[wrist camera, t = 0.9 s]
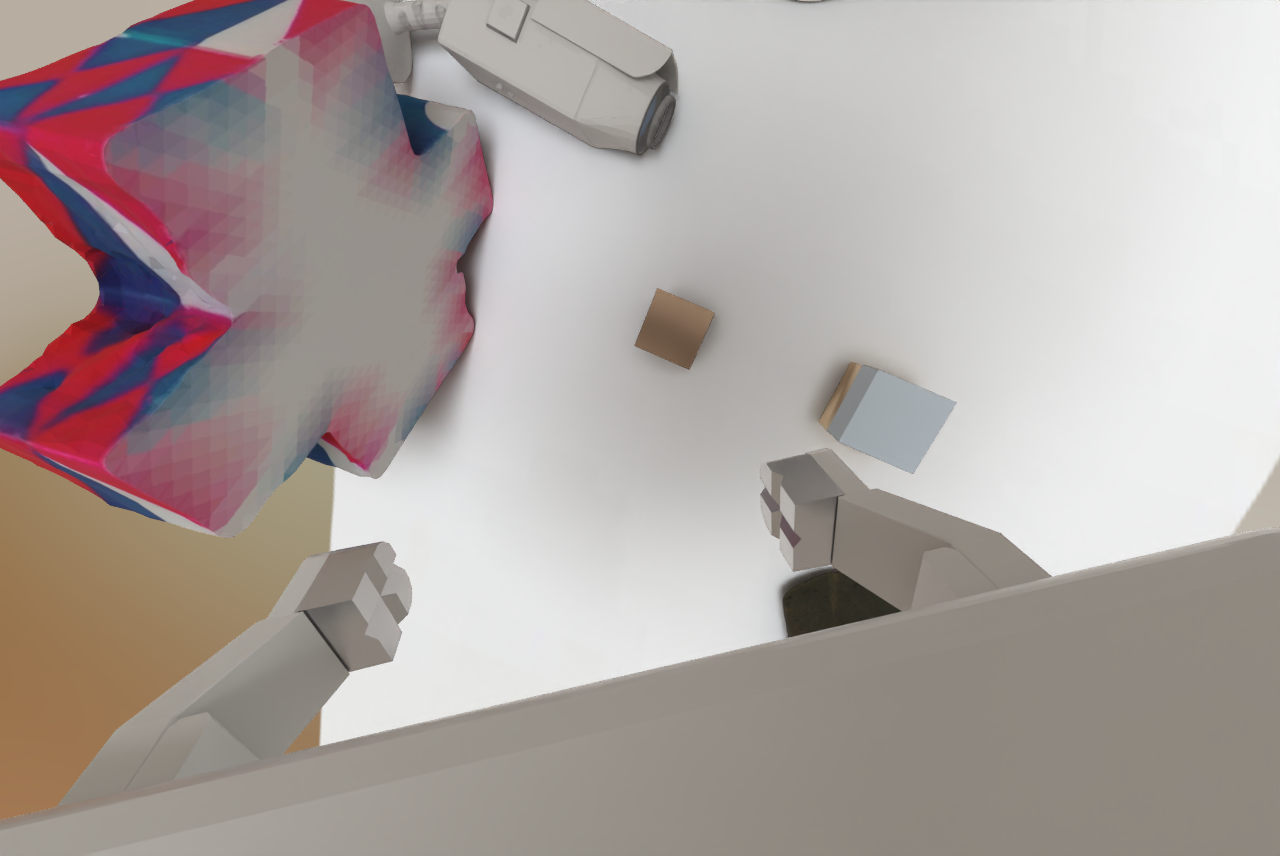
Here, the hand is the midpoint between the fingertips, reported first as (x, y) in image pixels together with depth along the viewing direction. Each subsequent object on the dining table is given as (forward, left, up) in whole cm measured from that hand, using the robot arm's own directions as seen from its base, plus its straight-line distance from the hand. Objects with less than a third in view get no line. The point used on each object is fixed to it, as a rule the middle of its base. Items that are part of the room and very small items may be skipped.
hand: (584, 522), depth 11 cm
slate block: (-3, +16, -32) cm, 36 cm away
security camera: (-18, -22, -36) cm, 45 cm away
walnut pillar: (-3, -2, -36) cm, 36 cm away
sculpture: (+2, -25, -36) cm, 43 cm away
